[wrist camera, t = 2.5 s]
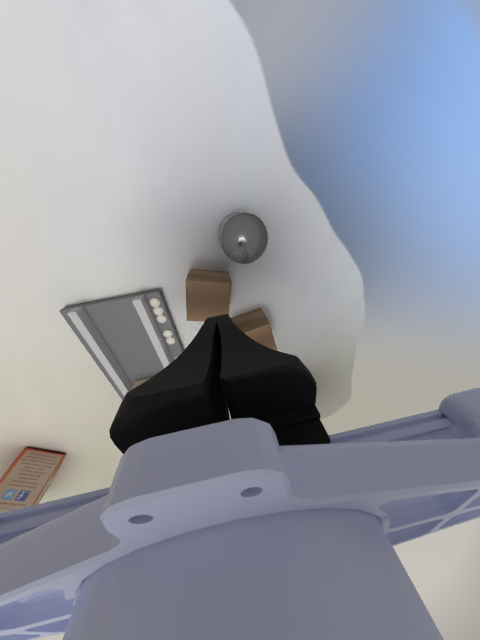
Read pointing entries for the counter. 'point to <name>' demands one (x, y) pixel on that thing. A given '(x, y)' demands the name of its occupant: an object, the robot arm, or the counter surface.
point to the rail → (127, 336)
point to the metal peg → (243, 237)
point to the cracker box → (28, 478)
